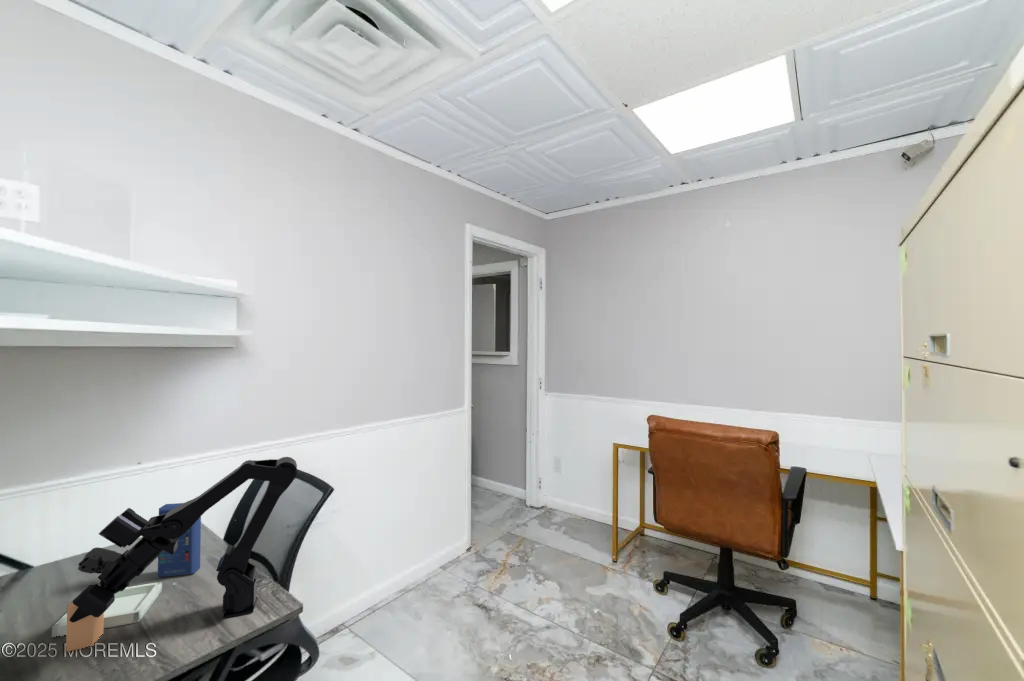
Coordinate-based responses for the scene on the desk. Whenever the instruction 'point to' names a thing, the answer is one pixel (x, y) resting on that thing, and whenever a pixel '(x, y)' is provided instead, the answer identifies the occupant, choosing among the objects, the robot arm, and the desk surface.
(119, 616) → the tray
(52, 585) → the desk surface
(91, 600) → the robot arm
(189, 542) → the electronic device
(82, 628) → the block
